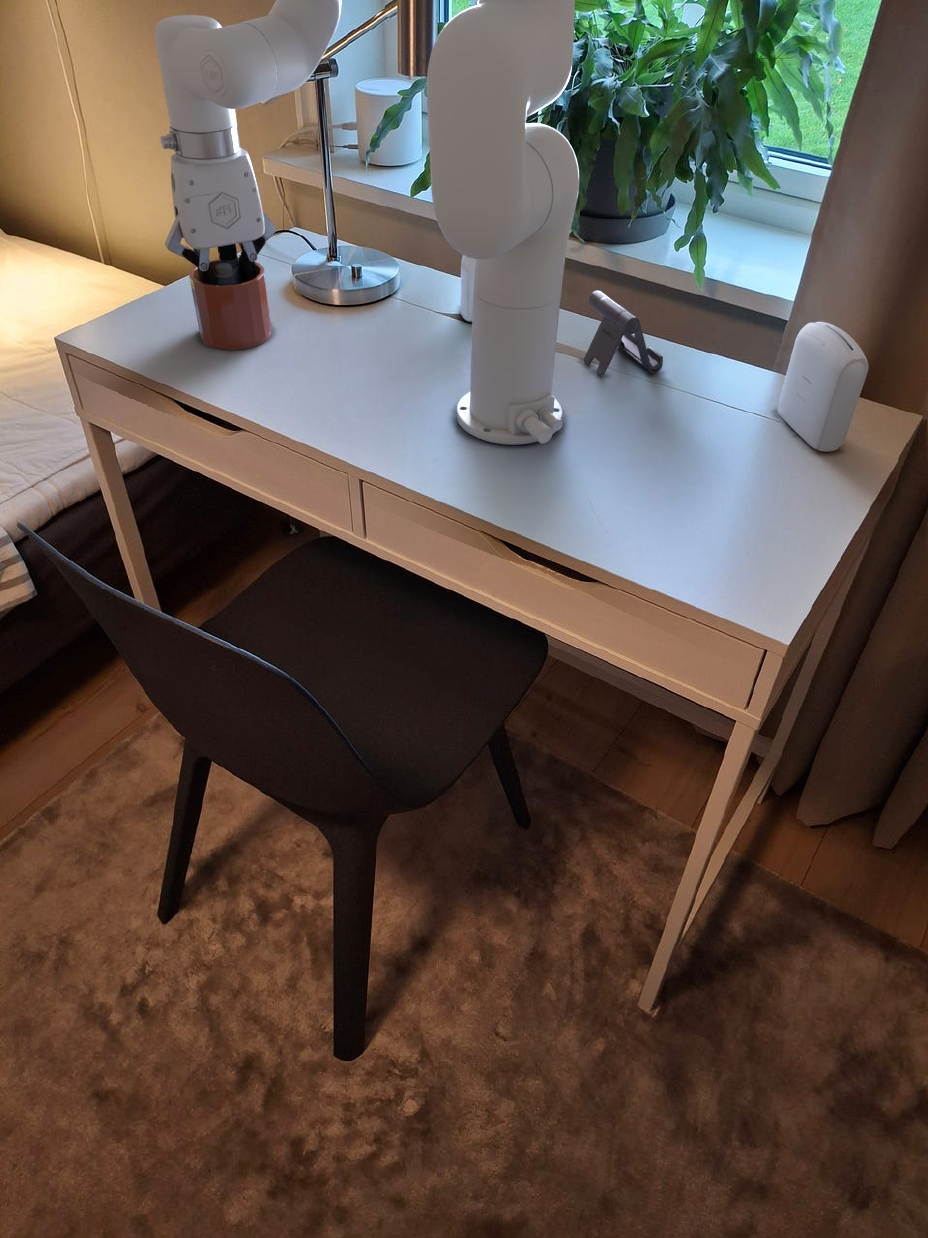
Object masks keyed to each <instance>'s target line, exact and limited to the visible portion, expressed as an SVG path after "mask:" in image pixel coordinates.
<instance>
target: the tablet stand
mask: <svg viewBox="0 0 928 1238" xmlns="http://www.w3.org/2000/svg"><path fill="white" fill-rule="evenodd" d="M588 305H589V306H590V307H591V308H592V309H594V310H595V311H596V312H598V314H600V315H602V319H601V321H600V323H599V325H598V327H597V330H596V332H595V334H594V336H593V338H592V340H591V342H590V345H589V347H588V348H587V351H586V353H585V355H584V357H583V362H584V363H585V364H586V365H587V366H590V365H591V364H592V362H593V360H594V359H595V360H597V361H598V363H599V364H598V366H597V369H596V371H595V372H596V374H597V375H599V376H601V377H604V375H605V373H606V372H607V370H608V368H609V366H610V364H611V361H612V359H613V357H614V356H615V354H616V351H617V349H618V348H619V349H620V350H622V351H623V352H625V353H626V354H628V355H629V357H631V358H632V359H633V360H635V361H636V362H637V363H639V364H640V365H641V366H642V367H643V368H644V369H645V370H647V371H648V372H650V373H652V374H657V373H658V372H660V371H661V370H662V369H663V365H664V356H663V355H662V354H661V353H659V352H658V351H656V350H655V349H653V348H652V347H651V346H647V344H646V340H645V337H644V332H643V329H642V325H641V321H640V319H639V318H637V316H635V315H634V314H632V313H631V312H630V311H628V310H627V309H626V308H624V307H623V306H621V305H620V304H619V303H617V302H616V301H615V300H613V299H612V298H610V297H609V296H608V295H606V294H605V293H603V292H602V291H601V290H595V291H593V292H591V294H590V295H589V297H588Z"/></svg>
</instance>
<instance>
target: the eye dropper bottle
mask: <svg viewBox="0 0 928 1238" xmlns="http://www.w3.org/2000/svg"><path fill="white" fill-rule="evenodd" d="M460 262H461V263H460V304H459V305H460V306H459V307H460V309H459V310H460V311H459V312H460V315H461V317H462V318H463V319H464V320H465V321H467V322H472V311H473V286H474V267H475V259H473V258H469V257H466V256H464V255H462V257H461V261H460Z"/></svg>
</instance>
